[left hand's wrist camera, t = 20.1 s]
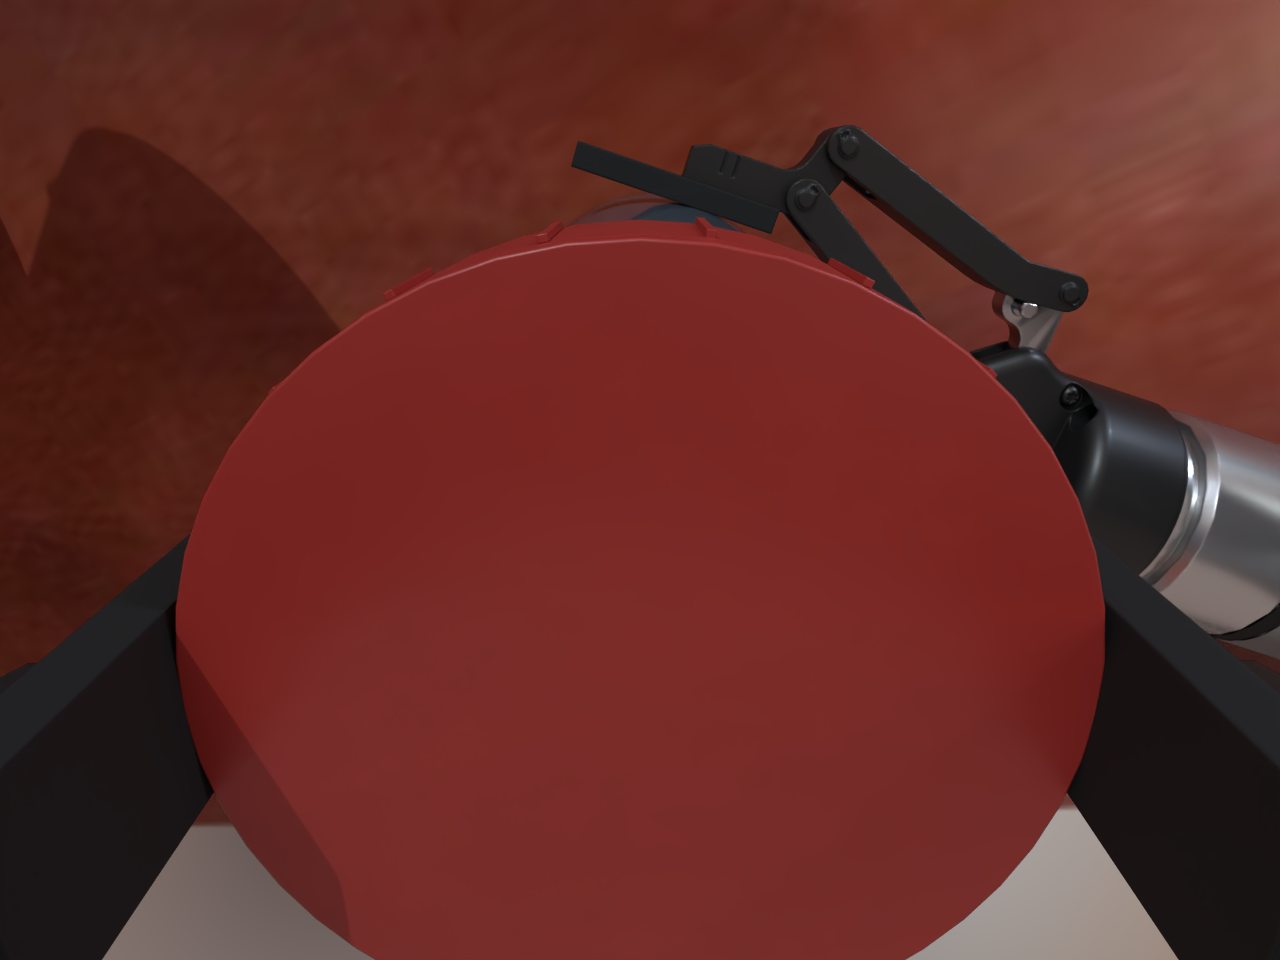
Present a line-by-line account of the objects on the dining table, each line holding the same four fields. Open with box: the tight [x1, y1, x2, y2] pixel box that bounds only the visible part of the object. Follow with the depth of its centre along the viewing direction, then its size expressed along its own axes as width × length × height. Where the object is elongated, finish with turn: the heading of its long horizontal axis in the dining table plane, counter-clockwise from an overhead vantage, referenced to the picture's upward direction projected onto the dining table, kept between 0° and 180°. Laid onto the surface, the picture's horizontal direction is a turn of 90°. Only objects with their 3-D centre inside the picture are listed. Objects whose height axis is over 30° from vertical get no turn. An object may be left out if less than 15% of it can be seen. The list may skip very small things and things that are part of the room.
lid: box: [176, 217, 1105, 960], centre depth 11 cm, size 11×11×2 cm
